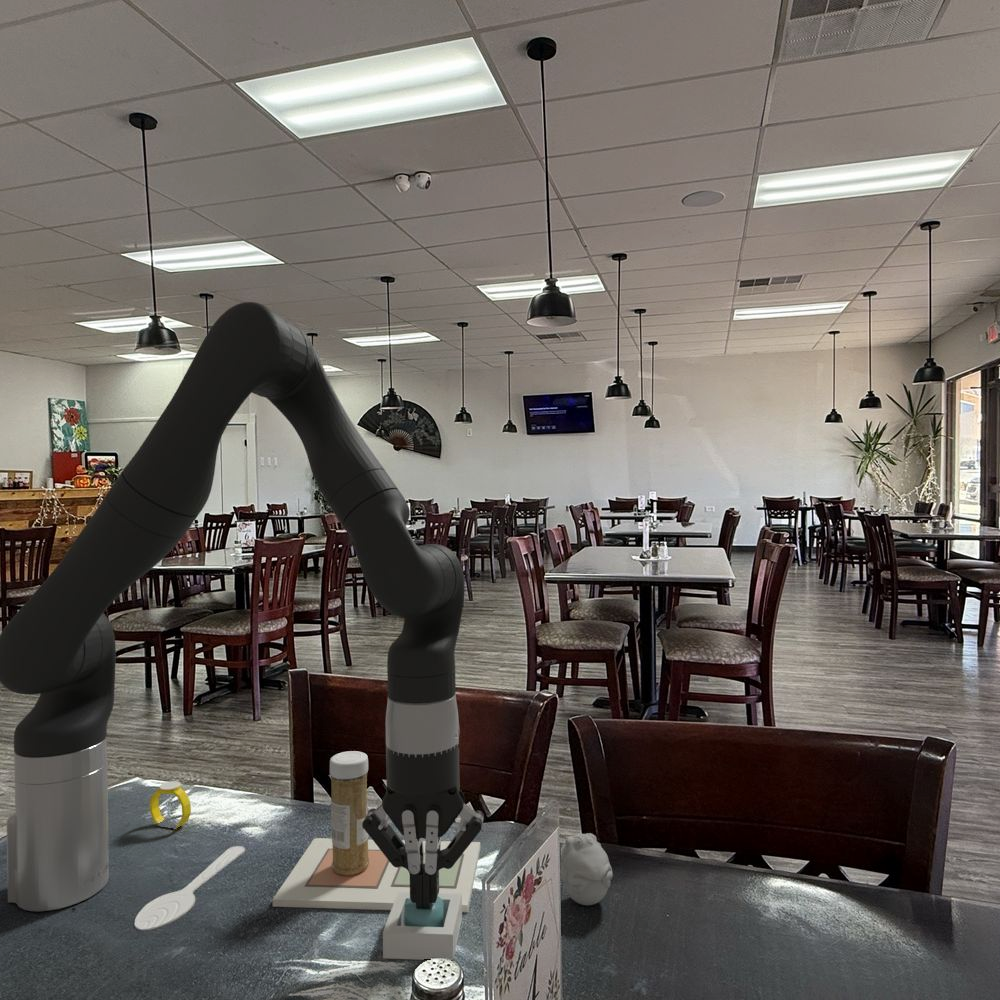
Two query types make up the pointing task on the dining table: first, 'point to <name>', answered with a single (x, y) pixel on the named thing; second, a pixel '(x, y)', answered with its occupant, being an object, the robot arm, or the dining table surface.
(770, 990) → the dining table surface
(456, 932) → the button housing
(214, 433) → the robot arm
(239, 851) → the spoon
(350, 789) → the sprinkles bottle
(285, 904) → the picture board
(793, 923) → the dining table surface
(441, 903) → the button
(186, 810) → the watch
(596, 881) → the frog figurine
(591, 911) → the dining table surface
